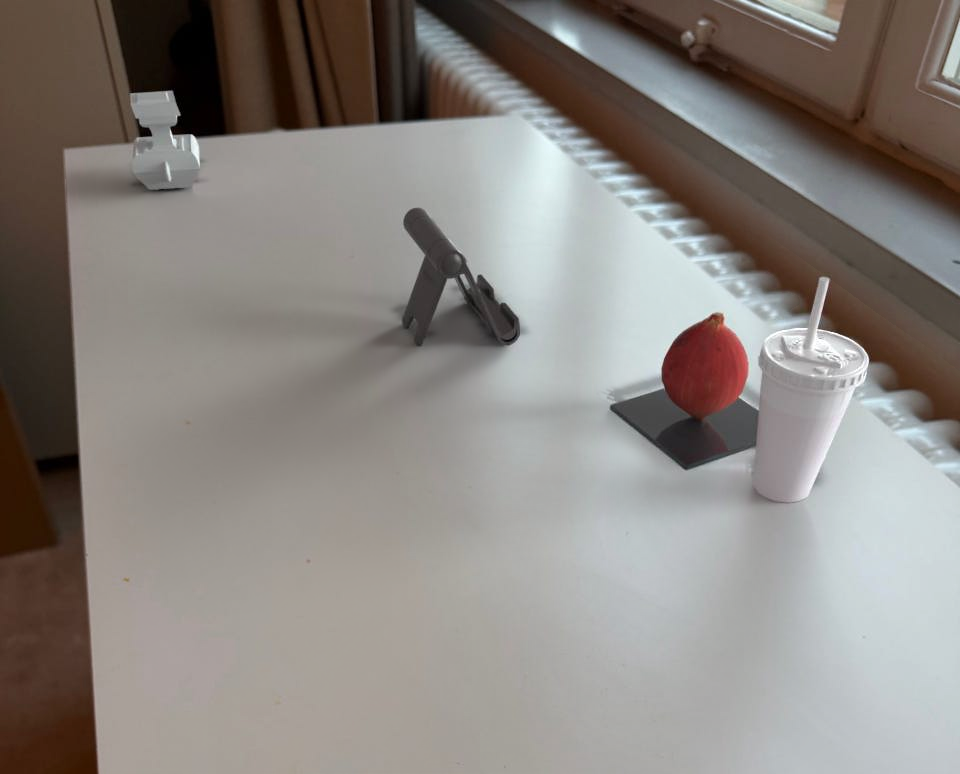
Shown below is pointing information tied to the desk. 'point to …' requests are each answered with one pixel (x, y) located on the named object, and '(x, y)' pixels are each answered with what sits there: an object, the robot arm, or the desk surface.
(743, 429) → the coaster
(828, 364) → the smoothie
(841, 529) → the desk surface
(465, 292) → the tablet stand
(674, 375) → the onion
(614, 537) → the desk surface
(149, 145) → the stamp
